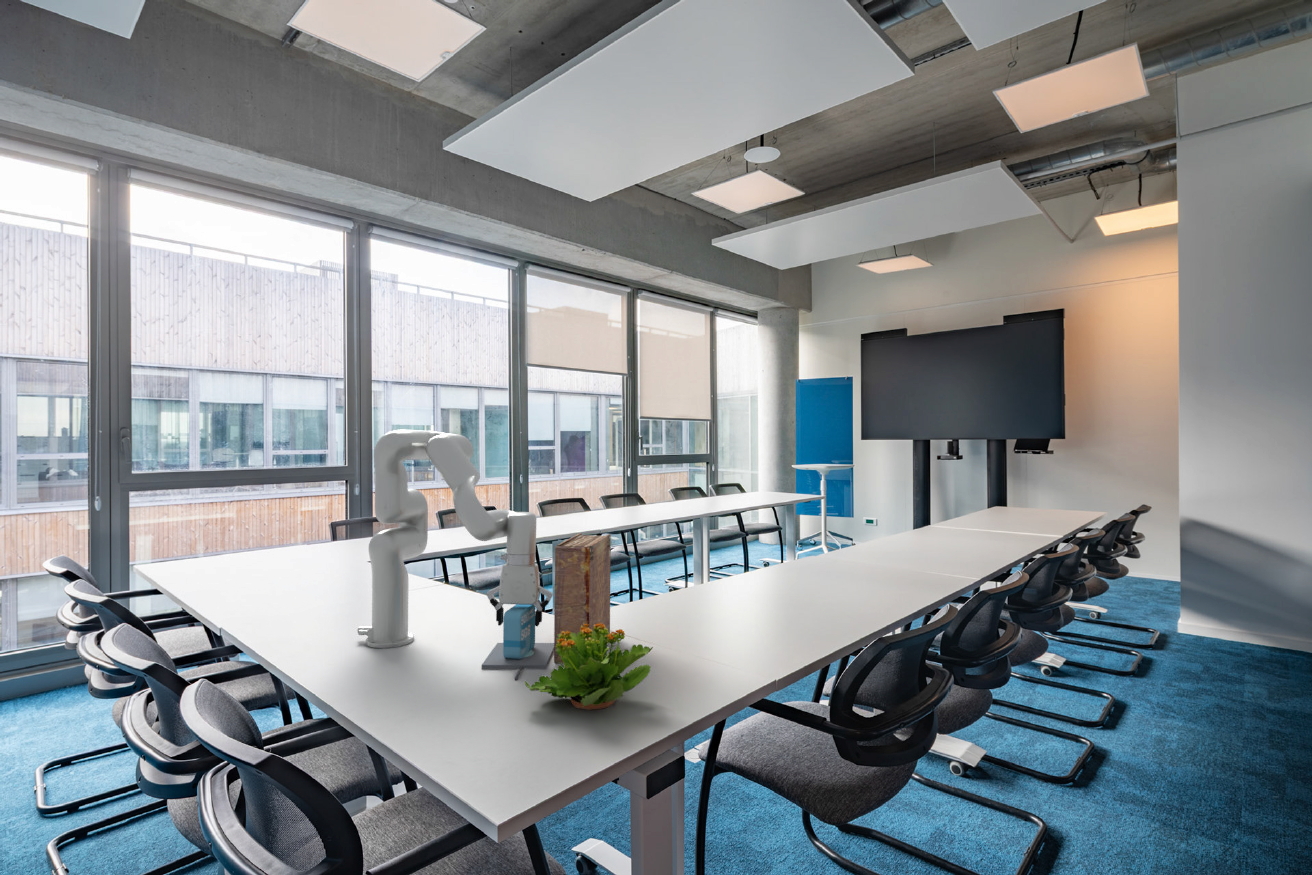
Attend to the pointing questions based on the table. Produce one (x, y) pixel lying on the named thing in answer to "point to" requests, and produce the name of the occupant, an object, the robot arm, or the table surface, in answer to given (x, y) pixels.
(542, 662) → the charging mat
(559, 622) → the book
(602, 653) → the potted flower
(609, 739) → the table surface
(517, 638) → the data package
